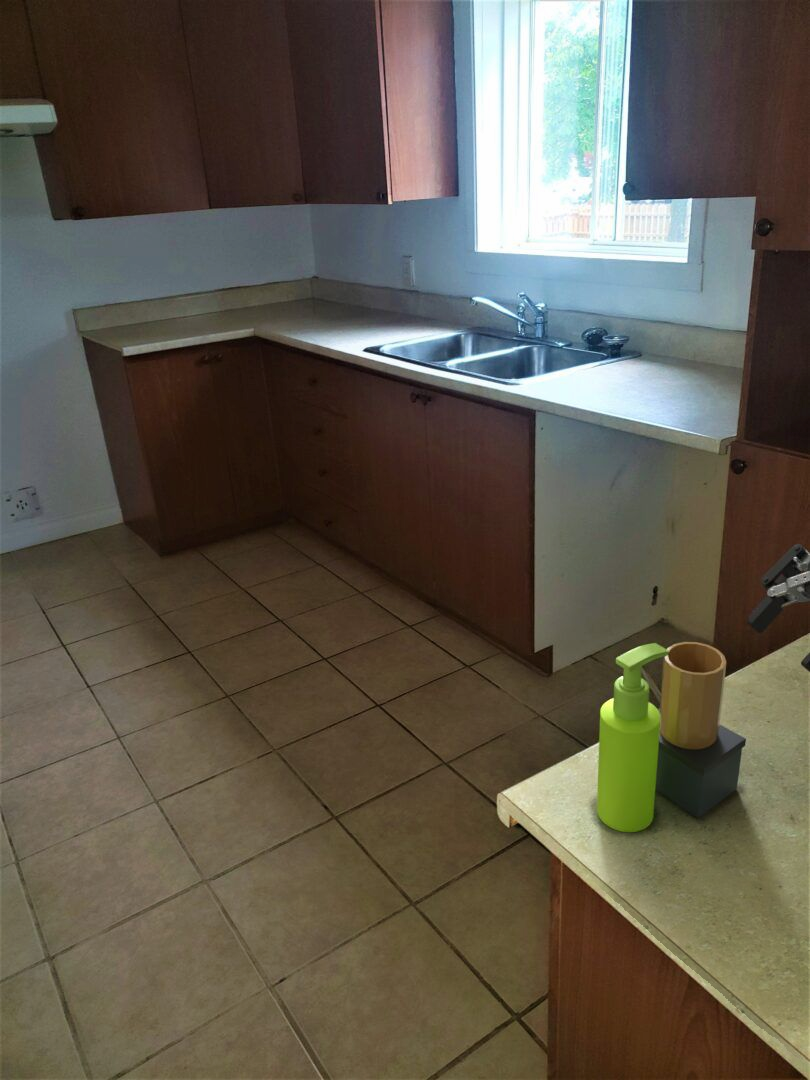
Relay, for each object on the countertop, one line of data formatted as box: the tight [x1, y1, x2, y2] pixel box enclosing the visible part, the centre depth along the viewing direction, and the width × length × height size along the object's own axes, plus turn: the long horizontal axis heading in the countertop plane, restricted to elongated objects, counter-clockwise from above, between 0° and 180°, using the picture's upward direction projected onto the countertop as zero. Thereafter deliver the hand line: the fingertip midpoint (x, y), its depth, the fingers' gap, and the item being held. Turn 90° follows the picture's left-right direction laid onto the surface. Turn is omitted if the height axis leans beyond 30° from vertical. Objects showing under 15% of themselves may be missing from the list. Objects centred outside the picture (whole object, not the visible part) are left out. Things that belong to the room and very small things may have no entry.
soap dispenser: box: [596, 642, 670, 833], centre depth 84 cm, size 6×7×20 cm
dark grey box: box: [655, 708, 747, 819], centre depth 90 cm, size 9×7×7 cm
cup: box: [659, 641, 727, 749], centre depth 86 cm, size 6×6×10 cm
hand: (779, 648), depth 87 cm, fingers open, 8 cm apart
